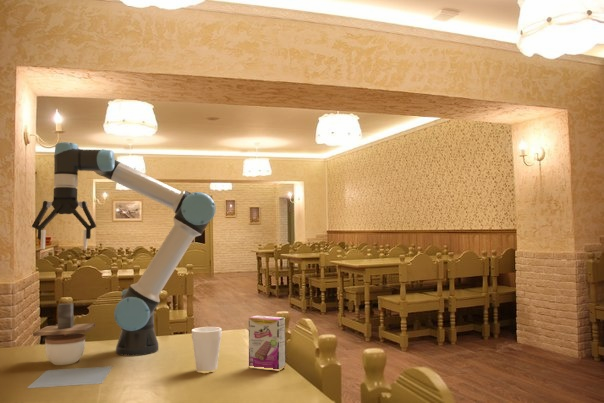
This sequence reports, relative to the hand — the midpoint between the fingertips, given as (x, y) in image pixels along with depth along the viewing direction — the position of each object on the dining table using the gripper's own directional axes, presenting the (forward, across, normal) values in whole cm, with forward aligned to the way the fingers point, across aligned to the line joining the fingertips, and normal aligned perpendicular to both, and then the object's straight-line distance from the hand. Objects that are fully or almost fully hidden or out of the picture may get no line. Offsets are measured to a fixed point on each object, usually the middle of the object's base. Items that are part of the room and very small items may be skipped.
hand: (64, 248), depth 180 cm
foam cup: (+39, -48, +22) cm, 66 cm away
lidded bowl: (+39, -1, 0) cm, 39 cm away
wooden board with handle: (+28, -1, 0) cm, 28 cm away
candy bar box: (+39, -67, +24) cm, 81 cm away
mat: (+39, -8, +21) cm, 45 cm away
